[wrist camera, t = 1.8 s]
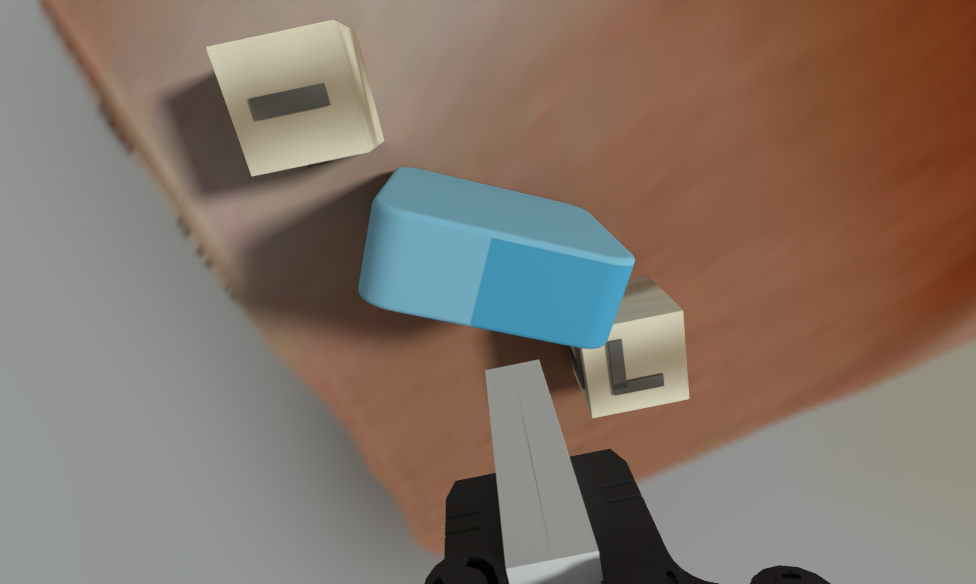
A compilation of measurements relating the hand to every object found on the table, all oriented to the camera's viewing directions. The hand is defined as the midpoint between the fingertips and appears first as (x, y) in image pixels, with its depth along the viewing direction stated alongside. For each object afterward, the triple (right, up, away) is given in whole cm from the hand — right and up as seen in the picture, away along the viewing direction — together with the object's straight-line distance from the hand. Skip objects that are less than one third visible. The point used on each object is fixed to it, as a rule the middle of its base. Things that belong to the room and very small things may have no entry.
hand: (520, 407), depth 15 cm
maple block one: (-11, +14, +16) cm, 24 cm away
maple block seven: (+8, +1, +23) cm, 24 cm away
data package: (-1, +8, +20) cm, 21 cm away
